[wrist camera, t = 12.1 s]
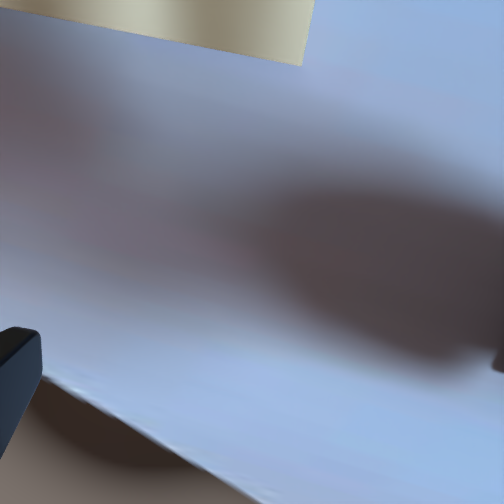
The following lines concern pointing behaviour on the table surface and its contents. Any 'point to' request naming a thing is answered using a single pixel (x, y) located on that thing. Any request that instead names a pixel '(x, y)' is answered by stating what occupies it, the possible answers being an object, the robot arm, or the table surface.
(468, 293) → the table surface
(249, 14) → the base board
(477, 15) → the table surface
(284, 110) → the table surface
